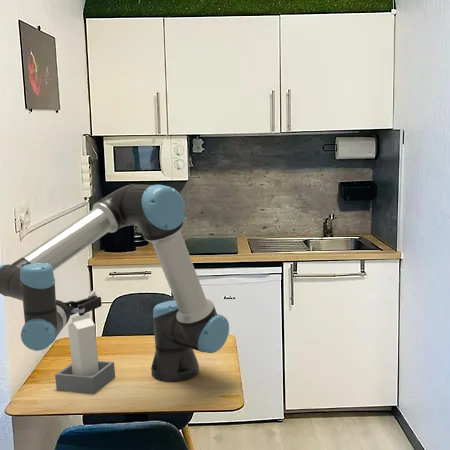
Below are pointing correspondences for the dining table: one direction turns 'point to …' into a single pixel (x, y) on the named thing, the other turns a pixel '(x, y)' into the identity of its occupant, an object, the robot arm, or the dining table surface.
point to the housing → (85, 379)
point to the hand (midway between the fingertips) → (70, 296)
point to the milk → (83, 346)
